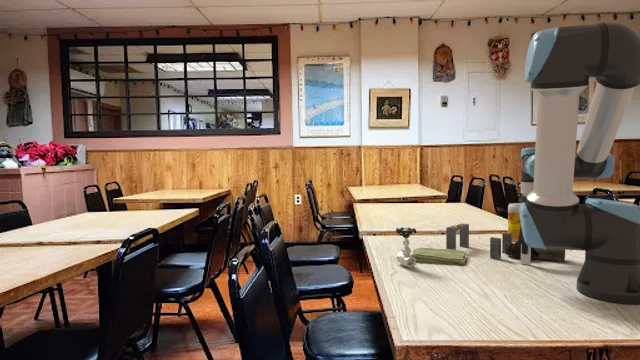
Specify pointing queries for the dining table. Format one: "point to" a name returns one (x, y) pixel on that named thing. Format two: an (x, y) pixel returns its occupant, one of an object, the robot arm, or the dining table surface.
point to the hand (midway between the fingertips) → (532, 260)
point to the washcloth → (439, 256)
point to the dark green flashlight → (535, 252)
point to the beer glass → (514, 220)
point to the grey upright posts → (464, 240)
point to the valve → (406, 248)
